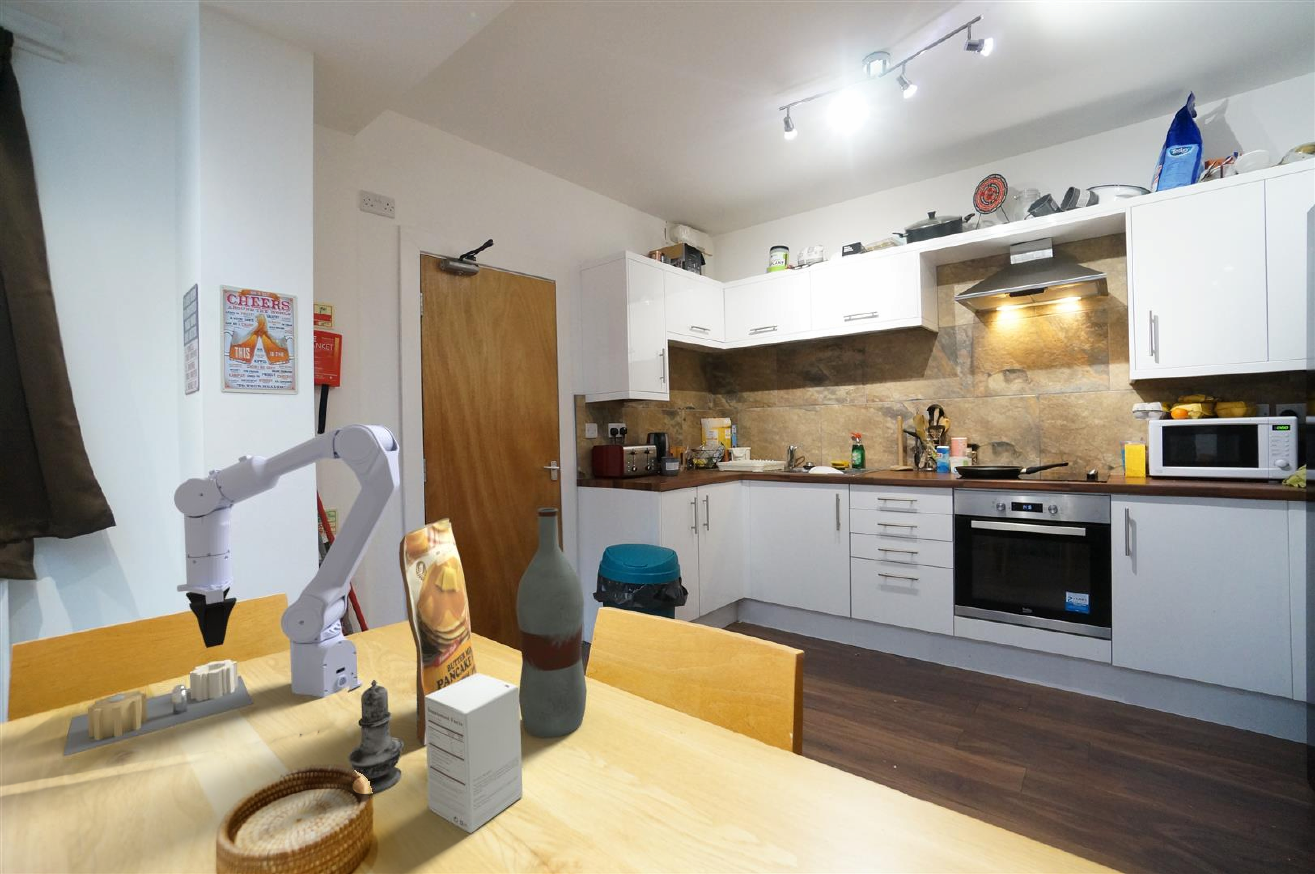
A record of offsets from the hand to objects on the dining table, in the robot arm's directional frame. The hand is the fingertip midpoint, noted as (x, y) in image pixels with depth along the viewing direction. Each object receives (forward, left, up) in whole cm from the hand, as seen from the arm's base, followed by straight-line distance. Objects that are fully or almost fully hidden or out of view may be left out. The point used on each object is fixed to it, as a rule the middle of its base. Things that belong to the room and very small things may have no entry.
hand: (212, 639), depth 91 cm
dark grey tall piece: (-43, +6, -10) cm, 44 cm away
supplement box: (-57, +5, -10) cm, 58 cm away
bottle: (-55, -13, -10) cm, 57 cm away
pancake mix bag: (-39, -9, -10) cm, 41 cm away
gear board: (0, +6, -9) cm, 11 cm away
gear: (0, 0, -8) cm, 8 cm away
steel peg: (-2, +6, -9) cm, 11 cm away
